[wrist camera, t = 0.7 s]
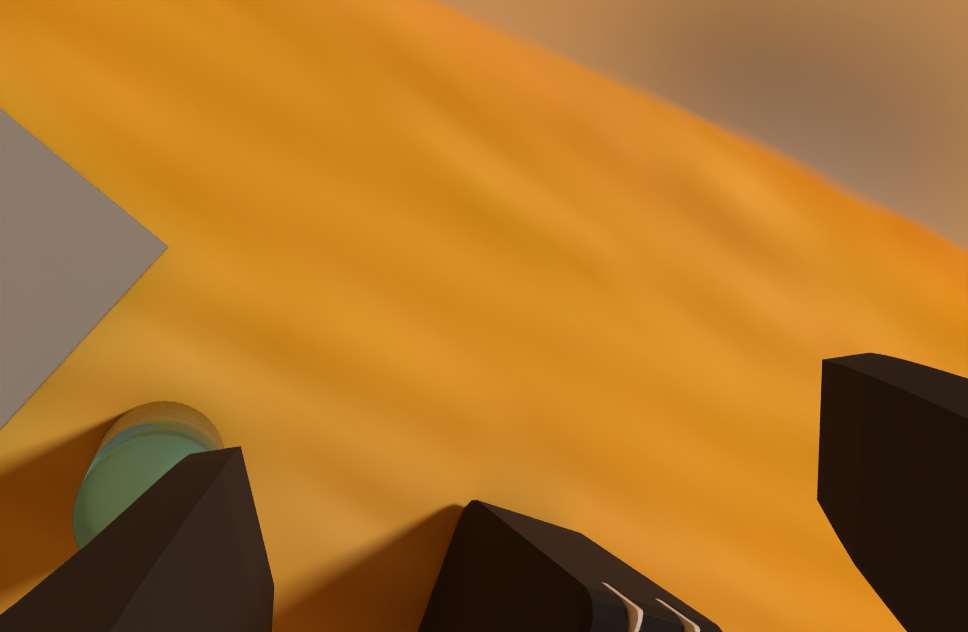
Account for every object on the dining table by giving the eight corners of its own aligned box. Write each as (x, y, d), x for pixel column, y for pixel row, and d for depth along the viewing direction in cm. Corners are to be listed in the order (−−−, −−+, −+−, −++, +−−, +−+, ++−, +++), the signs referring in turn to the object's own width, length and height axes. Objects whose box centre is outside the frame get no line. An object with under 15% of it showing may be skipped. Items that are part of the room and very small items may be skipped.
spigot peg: (169, 543, 27) (165, 618, 21) (69, 472, 26) (36, 531, 20) (249, 450, 27) (266, 498, 22) (154, 376, 26) (146, 407, 21)
